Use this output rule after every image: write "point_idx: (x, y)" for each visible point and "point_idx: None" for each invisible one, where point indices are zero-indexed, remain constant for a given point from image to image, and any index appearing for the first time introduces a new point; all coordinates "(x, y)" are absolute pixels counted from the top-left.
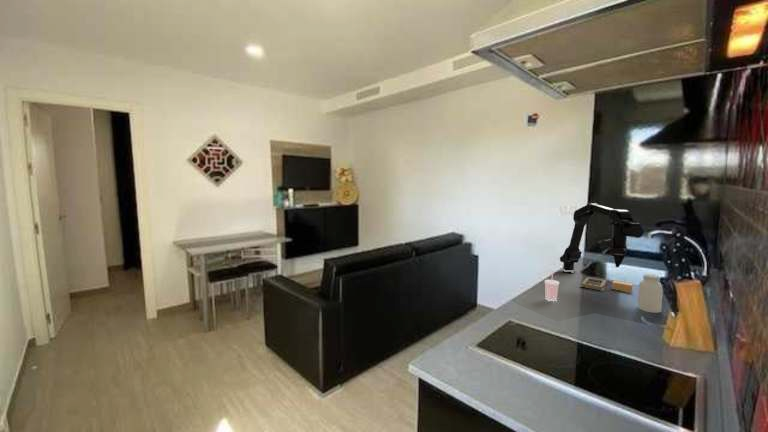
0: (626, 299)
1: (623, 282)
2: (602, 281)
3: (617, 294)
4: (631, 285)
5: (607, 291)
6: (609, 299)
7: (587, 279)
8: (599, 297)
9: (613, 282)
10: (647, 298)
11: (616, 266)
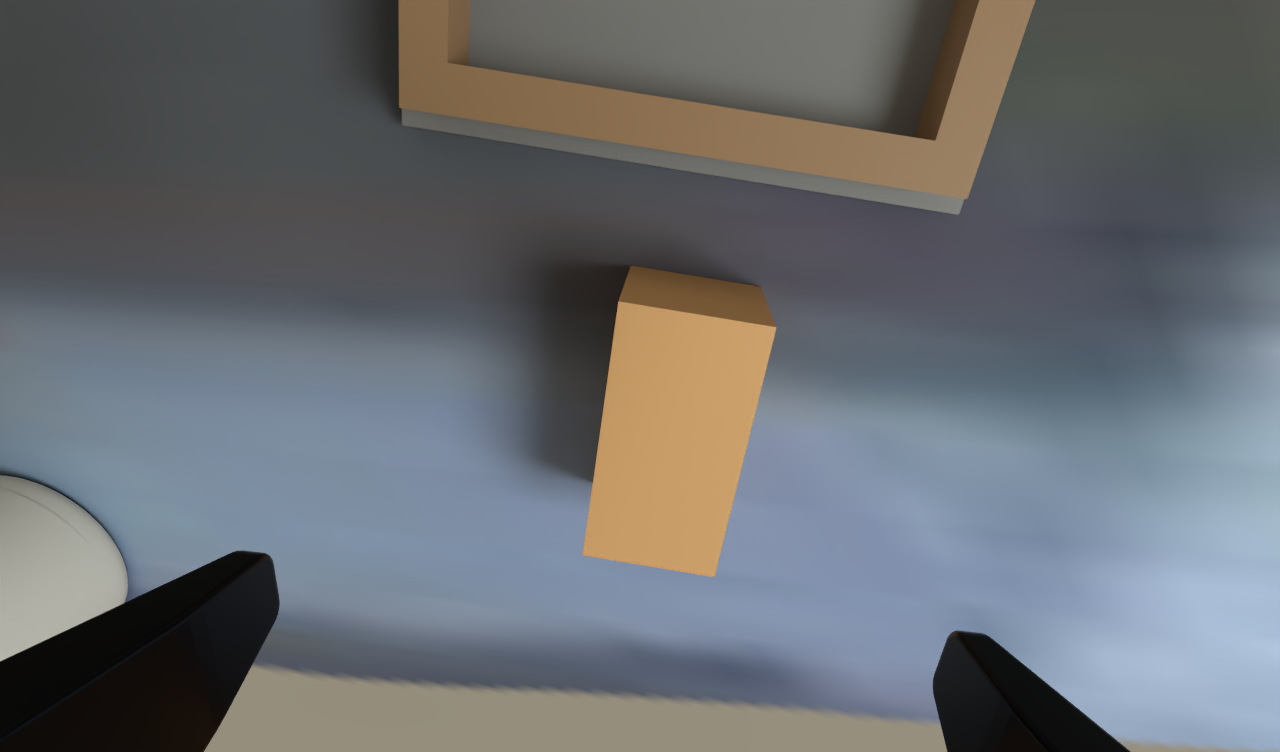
0: (245, 401)
1: (724, 468)
2: (928, 128)
3: (406, 320)
4: (586, 549)
5: (477, 195)
6: (62, 203)
7: None
8: (38, 64)
9: (624, 317)
10: None
11: (219, 575)
